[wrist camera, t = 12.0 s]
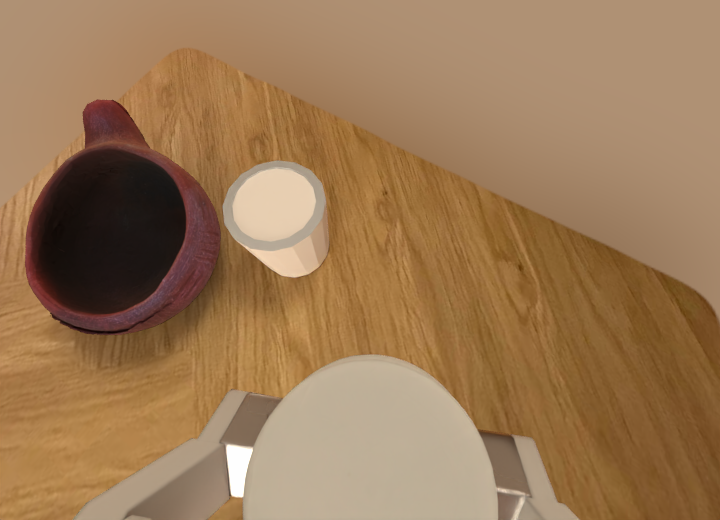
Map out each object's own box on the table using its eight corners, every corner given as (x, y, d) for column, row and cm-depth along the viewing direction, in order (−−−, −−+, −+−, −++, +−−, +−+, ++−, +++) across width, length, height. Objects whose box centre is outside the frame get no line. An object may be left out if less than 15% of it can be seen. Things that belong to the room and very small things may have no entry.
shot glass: (244, 228, 31) (209, 182, 24) (318, 198, 32) (303, 145, 25) (270, 298, 28) (239, 268, 22) (349, 264, 29) (342, 224, 23)
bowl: (270, 265, 29) (234, 219, 22) (134, 378, 27) (39, 368, 19) (168, 152, 34) (110, 82, 27) (43, 237, 31) (-61, 185, 24)
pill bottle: (285, 416, 14) (169, 435, 6) (389, 348, 14) (407, 287, 7) (349, 546, 12) (306, 808, 4) (462, 462, 13) (597, 555, 5)
